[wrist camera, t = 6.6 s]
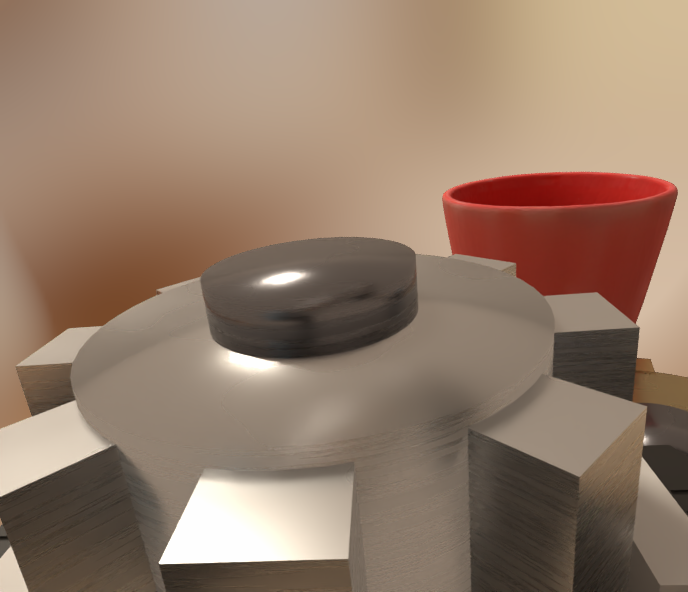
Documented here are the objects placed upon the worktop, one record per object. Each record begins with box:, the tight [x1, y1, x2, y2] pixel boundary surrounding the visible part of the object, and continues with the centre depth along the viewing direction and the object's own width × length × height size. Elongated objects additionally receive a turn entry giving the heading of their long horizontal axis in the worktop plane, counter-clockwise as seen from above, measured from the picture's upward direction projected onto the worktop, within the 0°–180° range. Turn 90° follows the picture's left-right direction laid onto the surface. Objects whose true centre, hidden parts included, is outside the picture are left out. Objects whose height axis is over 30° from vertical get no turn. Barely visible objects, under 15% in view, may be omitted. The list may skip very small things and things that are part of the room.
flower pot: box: [442, 172, 678, 324], centre depth 28 cm, size 11×11×10 cm
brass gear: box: [632, 358, 688, 456], centre depth 16 cm, size 14×14×4 cm
